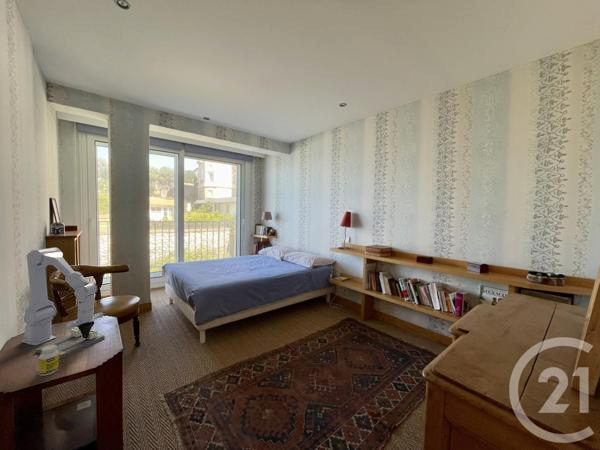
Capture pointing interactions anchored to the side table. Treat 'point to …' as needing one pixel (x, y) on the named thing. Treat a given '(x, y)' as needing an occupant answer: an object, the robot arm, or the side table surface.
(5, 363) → the side table surface
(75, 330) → the cream slider knob
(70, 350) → the panel
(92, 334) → the block
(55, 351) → the supplement bottle
